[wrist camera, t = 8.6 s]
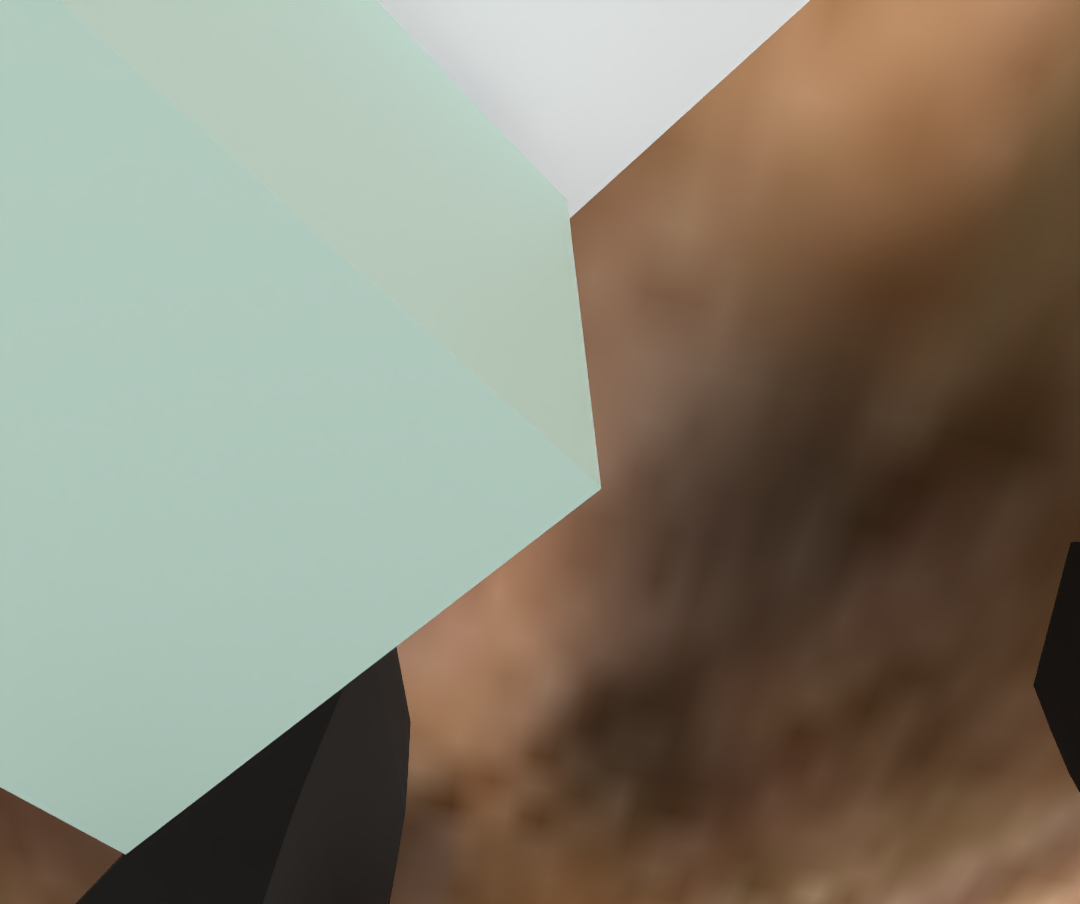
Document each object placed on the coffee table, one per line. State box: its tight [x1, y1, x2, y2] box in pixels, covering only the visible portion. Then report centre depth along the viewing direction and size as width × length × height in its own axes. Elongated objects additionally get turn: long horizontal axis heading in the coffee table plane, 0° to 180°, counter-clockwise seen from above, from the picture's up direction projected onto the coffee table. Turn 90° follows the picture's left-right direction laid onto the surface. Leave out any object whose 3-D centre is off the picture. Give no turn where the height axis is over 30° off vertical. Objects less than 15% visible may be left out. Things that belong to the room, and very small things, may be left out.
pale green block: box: [0, 0, 601, 855], centre depth 7 cm, size 5×4×5 cm
